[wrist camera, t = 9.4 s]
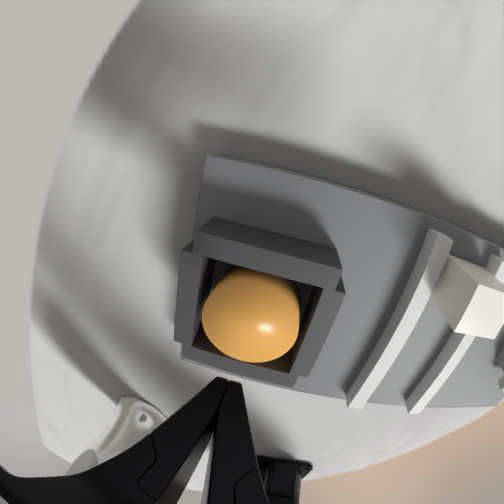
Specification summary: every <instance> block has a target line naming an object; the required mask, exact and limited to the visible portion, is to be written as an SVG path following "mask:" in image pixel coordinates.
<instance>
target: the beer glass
mask: <svg viewBox="0 0 504 504" xmlns="http://www.w3.org/2000/svg"><path fill="white" fill-rule="evenodd" d="M165 420H167V419H166V417H165V416H164V415H163V414H162V413H161V412H160V411H159V410H157V409H156V408H155V407H153V406H152V405H150V404H148V403H147V402H145V401H143V400H140V399H137V398H134V397H123V398H121V399H120V401H119V403H118V405H117V408H116V411H115V413H114V416H113V418H112V419H111V421H110V423H109V424H108V426H107V427H106V428H105V429H104V430H103V431H102V433H101V434H100V435H99V436H98V437H97V438H96V439H95V440H93V441H92V442H91V443H90V444H89V445H88V446H87V447H86V448H85V449H84V450H83V451H82V452H81V453H80V455H79V456H78V457H77V458H76V459H75V460H74V462H73V463H72V465H71V466H70V467H69V469H68V470H67V472H66V474H65V475H64V476H67V475H74V474H78V473H81V472H84V471H86V470H89V469H91V468H93V467H95V466H97V465H99V464H101V463H103V462H105V461H107V460H109V459H111V458H113V457H114V456H116V455H118V454H120V453H122V452H123V451H125V450H127V449H128V448H130V447H131V446H133V445H134V444H136V443H137V442H138V441H140V440H141V439H143V438H144V437H145V436H146V435H148V434H151V432H152V431H153V430H154V429H155V428H157V427H158V426H159V425H160V424H162V423H163V422H164V421H165Z"/></svg>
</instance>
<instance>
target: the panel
mask: <svg viewBox="0 0 504 504" xmlns="http://www.w3.org/2000/svg"><path fill="white" fill-rule="evenodd" d="M448 255H452V256H454V257H457V258H460V259H462V260H465V261H468V262H470V263H473V264H476V265H478V266H481V267H483V268H485V269H486V270H487V271H488V272H490V273H491V274H492V275H493V276H494V277H495V278H497V279H498V280H499V281H500V282H501V283H502V284H503V285H504V247H503V246H500V245H498V244H496V243H494V242H492V241H490V240H488V239H486V238H484V237H482V236H479V235H477V234H475V233H473V232H470V231H468V230H466V229H464V228H461V227H459V226H457V225H454V224H452V223H449V222H447V221H445V220H442V219H440V218H437V217H435V216H432V215H430V214H427V213H424V212H422V211H419V210H416V209H414V208H411V207H408V206H406V205H403V204H400V203H397V202H394V201H392V200H389V199H386V198H383V197H380V196H377V195H374V194H371V193H368V192H365V191H361V190H358V189H355V188H352V187H349V186H345V185H342V184H339V183H335V182H332V181H328V180H325V179H321V178H318V177H314V176H310V175H306V174H303V173H299V172H295V171H291V170H287V169H283V168H279V167H275V166H271V165H266V164H262V163H257V162H253V161H248V160H244V159H239V158H234V157H229V156H224V155H219V154H217V155H206V160H205V165H204V171H203V177H202V182H201V188H200V194H199V200H198V206H197V213H196V219H195V226H194V233H193V240H192V241H191V242H190V243H189V244H188V245H187V246H186V247H185V248H183V249H182V252H181V261H180V270H179V280H178V290H177V302H176V314H175V328H174V341H177V342H180V343H181V351H180V359H183V360H186V361H189V362H192V363H195V364H198V365H201V366H204V367H207V368H210V369H213V370H217V371H220V372H223V373H227V374H230V375H234V376H237V377H241V378H245V379H248V380H252V381H256V382H260V383H264V384H268V385H272V386H276V387H281V388H285V389H290V390H295V391H299V392H304V393H310V394H315V395H320V396H326V397H332V398H338V399H345V400H346V401H347V408H352V409H361V408H362V407H363V406H364V404H365V403H366V402H368V403H377V404H387V405H399V406H406V407H407V411H408V413H410V414H419V413H420V412H421V411H422V409H423V408H424V407H443V408H459V407H487V406H497V405H498V403H499V402H500V401H501V400H502V399H503V397H504V391H501V390H500V387H499V383H498V380H500V379H501V378H502V377H503V376H504V324H503V326H502V328H501V329H500V331H499V333H498V334H497V336H496V338H495V339H489V338H483V337H478V336H473V335H468V334H463V333H458V332H454V331H453V329H452V328H451V326H450V325H449V323H448V322H447V320H446V319H445V317H444V316H443V314H442V313H441V311H440V310H439V308H438V307H437V306H436V304H435V303H434V301H433V300H432V299H431V297H430V296H431V294H432V291H433V289H434V287H435V285H436V283H437V281H438V278H439V276H440V274H441V272H442V269H443V267H444V264H445V262H446V260H447V257H448ZM234 265H238V266H242V267H245V268H249V269H253V270H256V271H260V272H264V273H268V274H271V275H275V276H279V277H283V278H287V279H290V280H294V281H295V283H296V285H297V287H298V290H299V294H300V316H299V331H298V336H297V339H296V341H295V343H294V345H293V346H292V347H291V348H290V350H289V351H288V352H286V353H285V354H284V355H282V356H280V357H279V358H276V359H274V360H271V361H266V362H258V363H257V362H245V361H241V360H238V359H235V358H232V357H230V356H228V355H226V354H224V353H223V352H222V351H220V350H219V349H218V348H217V347H215V346H214V345H213V343H212V342H211V341H210V340H209V338H208V337H207V335H206V333H205V331H204V328H203V324H202V311H203V307H204V304H205V302H206V301H207V299H208V297H209V296H210V294H211V293H212V291H213V289H214V288H215V286H216V285H217V283H218V281H219V280H220V278H221V277H222V275H223V274H224V273H225V272H226V271H227V270H228V269H229V268H230V267H232V266H234Z"/></svg>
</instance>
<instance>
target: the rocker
mask: <svg viewBox="0 0 504 504" xmlns="http://www.w3.org/2000/svg"><path fill="white" fill-rule="evenodd" d="M498 383H499V387H500V390H501V391H504V376H503V377H502V378H501V379H500V380H498Z"/></svg>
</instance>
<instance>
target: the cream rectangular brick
mask: <svg viewBox="0 0 504 504" xmlns="http://www.w3.org/2000/svg"><path fill="white" fill-rule="evenodd" d="M430 297H431V299H432V300H433V301H434V303H435V304H436V306H437V307H438V308H439V310H440V311H441V313H442V314H443V316H444V317H445V319H446V320H447V322H448V323H449V325H450V326H451V328H452V329H453V331H454V332H458V333H463V334H468V335H473V336H478V337H483V338H489V339H495V338H496V336H497V334H498V333H499V331H500V329H501V328H502V326H503V324H504V285H503V284H502V283H501V282H500V281H499V280H498V279H497V278H495V277H494V276H493V275H492V274H491V273H490V272H488V271H487V270H486V269H485V268H483V267H481V266H478V265H476V264H473V263H470V262H468V261H465V260H462V259H460V258H457V257H454V256H452V255H448V257H447V260H446V262H445V264H444V267H443V269H442V272H441V274H440V276H439V278H438V281H437V283H436V285H435V287H434V289H433V291H432V294H431V296H430Z"/></svg>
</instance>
